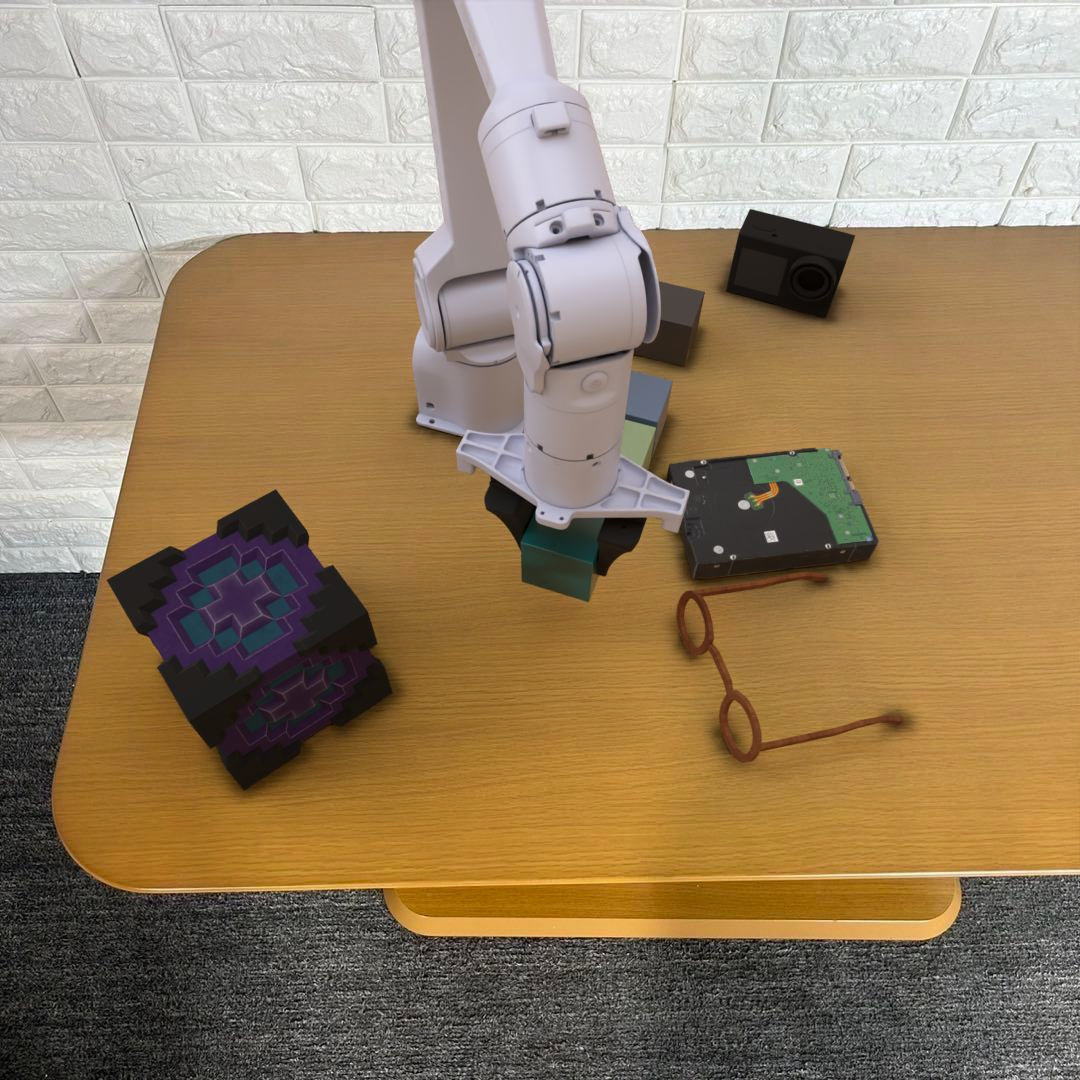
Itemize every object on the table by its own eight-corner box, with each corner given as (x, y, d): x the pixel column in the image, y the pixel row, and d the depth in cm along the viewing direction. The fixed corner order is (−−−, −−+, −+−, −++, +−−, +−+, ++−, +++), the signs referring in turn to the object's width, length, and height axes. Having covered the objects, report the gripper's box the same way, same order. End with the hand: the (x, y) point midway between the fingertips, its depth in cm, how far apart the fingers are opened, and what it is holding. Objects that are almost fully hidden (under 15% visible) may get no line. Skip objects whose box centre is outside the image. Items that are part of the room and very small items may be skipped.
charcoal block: (633, 354, 85) (638, 314, 81) (647, 320, 88) (652, 279, 84) (684, 367, 84) (692, 326, 80) (697, 332, 87) (705, 291, 83)
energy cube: (169, 664, 67) (106, 579, 57) (311, 581, 71) (275, 488, 61) (243, 790, 61) (188, 721, 52) (392, 693, 66) (368, 611, 56)
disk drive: (692, 585, 71) (872, 560, 72) (697, 566, 69) (883, 541, 70) (662, 483, 77) (829, 461, 78) (666, 462, 75) (838, 440, 76)
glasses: (670, 615, 69) (679, 581, 65) (824, 576, 71) (842, 541, 67) (737, 775, 62) (751, 748, 58) (905, 726, 64) (931, 697, 60)
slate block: (596, 446, 79) (600, 407, 75) (612, 406, 82) (616, 366, 77) (651, 460, 78) (658, 422, 74) (665, 419, 81) (673, 380, 77)
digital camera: (720, 298, 90) (733, 240, 84) (735, 265, 93) (749, 206, 87) (823, 326, 88) (844, 268, 82) (835, 292, 90) (856, 233, 85)
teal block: (521, 582, 63) (520, 542, 59) (544, 527, 66) (545, 485, 61) (589, 603, 62) (593, 564, 58) (609, 546, 65) (615, 505, 61)
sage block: (577, 494, 76) (579, 456, 72) (594, 451, 79) (597, 412, 74) (634, 509, 75) (640, 472, 71) (649, 465, 78) (656, 427, 74)
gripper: (429, 440, 51) (448, 568, 62) (679, 510, 48) (651, 631, 59) (475, 356, 54) (485, 491, 66) (709, 417, 52) (678, 547, 63)
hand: (566, 552), depth 63 cm, fingers closed on teal block, 5 cm apart
